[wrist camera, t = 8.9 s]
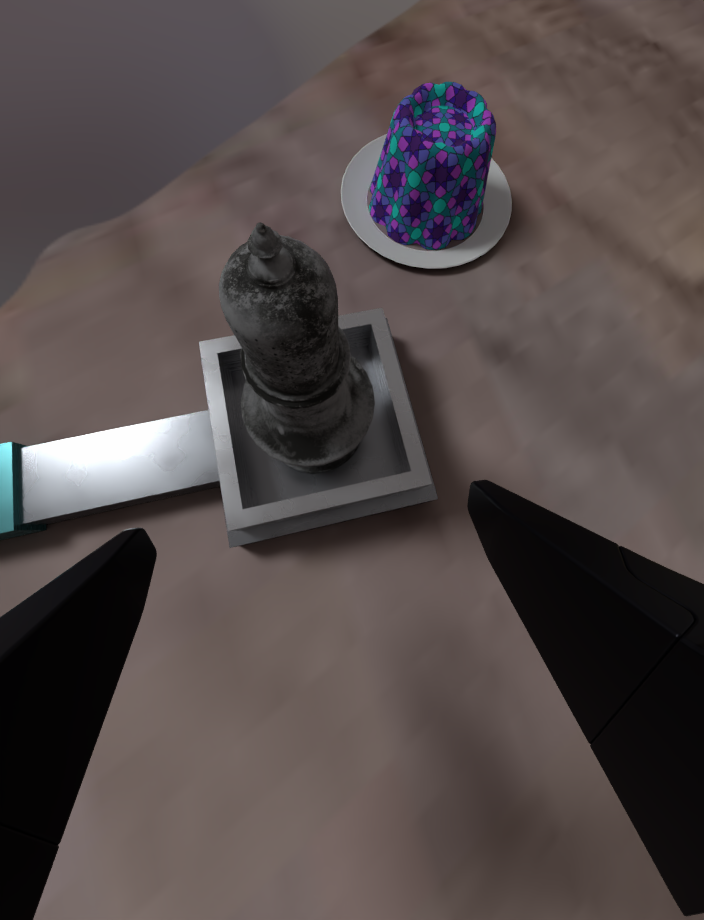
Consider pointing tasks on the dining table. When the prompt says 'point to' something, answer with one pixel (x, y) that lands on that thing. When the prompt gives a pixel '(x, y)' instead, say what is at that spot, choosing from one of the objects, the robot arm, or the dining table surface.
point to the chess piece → (294, 354)
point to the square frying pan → (228, 457)
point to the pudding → (430, 180)
